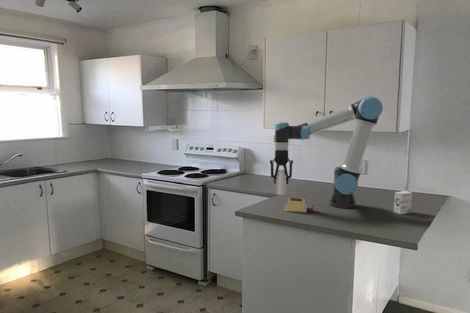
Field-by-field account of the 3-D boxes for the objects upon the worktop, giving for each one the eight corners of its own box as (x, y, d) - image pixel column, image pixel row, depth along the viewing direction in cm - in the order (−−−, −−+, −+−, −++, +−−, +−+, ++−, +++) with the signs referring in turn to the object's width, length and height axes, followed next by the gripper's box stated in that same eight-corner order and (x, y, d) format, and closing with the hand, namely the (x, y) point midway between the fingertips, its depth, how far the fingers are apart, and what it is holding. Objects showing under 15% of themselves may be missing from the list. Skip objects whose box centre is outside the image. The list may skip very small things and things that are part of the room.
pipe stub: (285, 193, 217) (285, 169, 216) (284, 195, 213) (284, 170, 211) (277, 193, 218) (278, 169, 217) (276, 194, 214) (277, 170, 212)
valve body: (313, 209, 211) (314, 199, 210) (313, 213, 202) (313, 203, 201) (286, 207, 214) (286, 197, 214) (284, 211, 206) (284, 200, 205)
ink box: (403, 210, 213) (405, 190, 211) (411, 213, 209) (412, 192, 207) (393, 212, 209) (394, 191, 208) (400, 214, 205) (402, 193, 203)
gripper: (297, 149, 214) (296, 188, 217) (267, 148, 218) (267, 187, 221) (296, 150, 207) (295, 191, 210) (265, 149, 211) (265, 190, 214)
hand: (281, 189), depth 215 cm, fingers closed on pipe stub, 4 cm apart
